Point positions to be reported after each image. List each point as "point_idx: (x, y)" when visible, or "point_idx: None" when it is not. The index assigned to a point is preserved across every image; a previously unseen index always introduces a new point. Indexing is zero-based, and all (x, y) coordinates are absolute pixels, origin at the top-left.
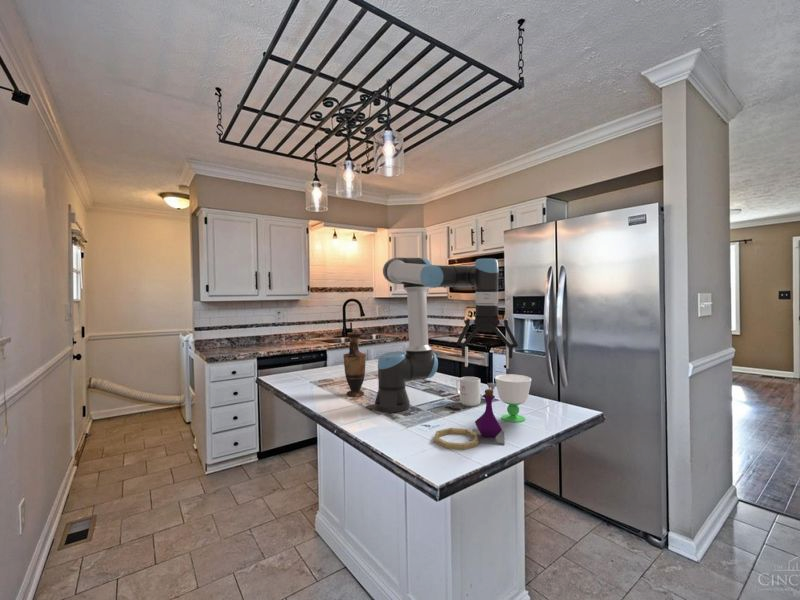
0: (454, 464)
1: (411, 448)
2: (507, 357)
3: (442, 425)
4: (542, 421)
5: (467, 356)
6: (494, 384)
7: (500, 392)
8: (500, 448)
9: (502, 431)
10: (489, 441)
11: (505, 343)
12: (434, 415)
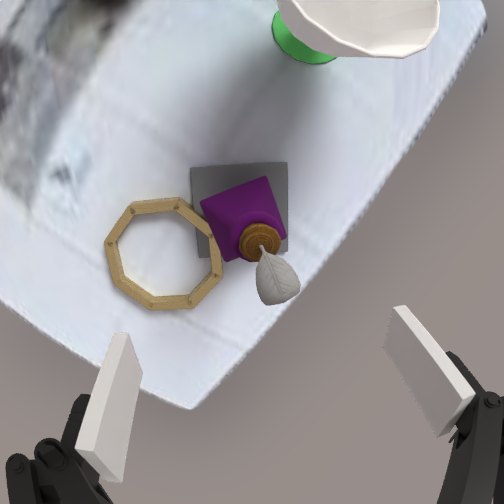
0: (194, 360)
1: (92, 320)
2: (418, 392)
3: (98, 156)
4: None
5: (125, 413)
6: (294, 293)
7: (291, 25)
8: None
9: (282, 167)
10: None
11: (449, 470)
12: (59, 81)
